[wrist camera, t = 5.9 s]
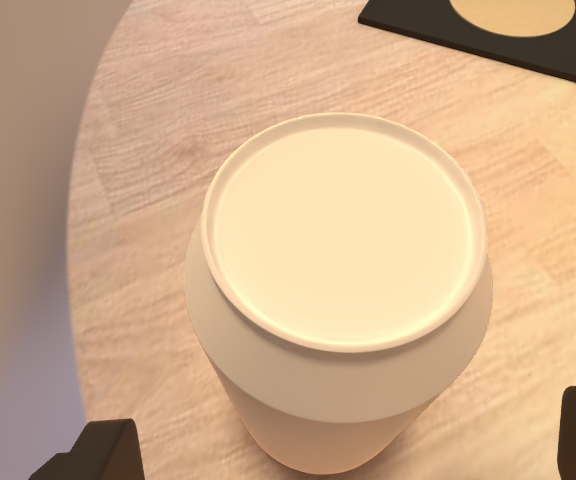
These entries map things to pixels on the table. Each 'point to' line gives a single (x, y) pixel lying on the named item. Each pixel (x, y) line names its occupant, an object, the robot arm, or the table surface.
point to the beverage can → (338, 284)
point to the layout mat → (489, 28)
